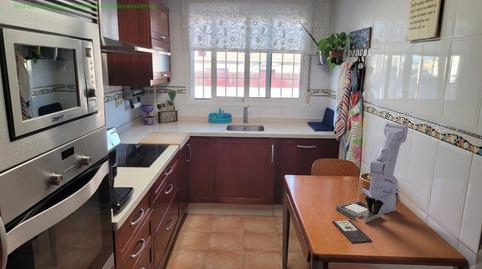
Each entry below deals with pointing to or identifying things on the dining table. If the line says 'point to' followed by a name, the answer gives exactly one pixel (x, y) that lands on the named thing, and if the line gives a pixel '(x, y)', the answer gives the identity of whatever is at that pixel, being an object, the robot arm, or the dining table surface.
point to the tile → (356, 210)
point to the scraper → (372, 214)
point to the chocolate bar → (351, 231)
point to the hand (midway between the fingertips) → (373, 212)
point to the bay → (341, 207)
